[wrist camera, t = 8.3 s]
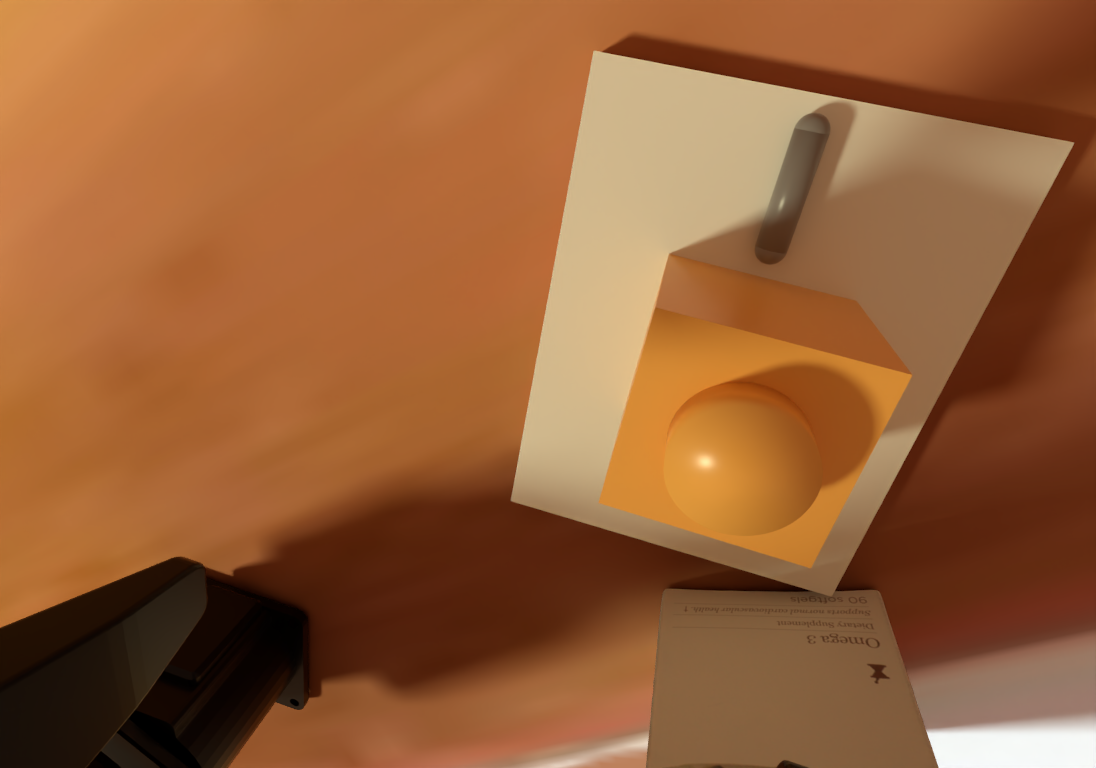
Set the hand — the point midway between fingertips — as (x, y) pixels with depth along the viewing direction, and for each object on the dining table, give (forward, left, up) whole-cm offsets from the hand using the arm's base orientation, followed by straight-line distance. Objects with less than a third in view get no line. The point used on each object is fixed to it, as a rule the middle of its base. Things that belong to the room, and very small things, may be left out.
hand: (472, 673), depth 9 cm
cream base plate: (+2, -4, -12) cm, 12 cm away
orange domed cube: (+2, -4, -11) cm, 11 cm away
